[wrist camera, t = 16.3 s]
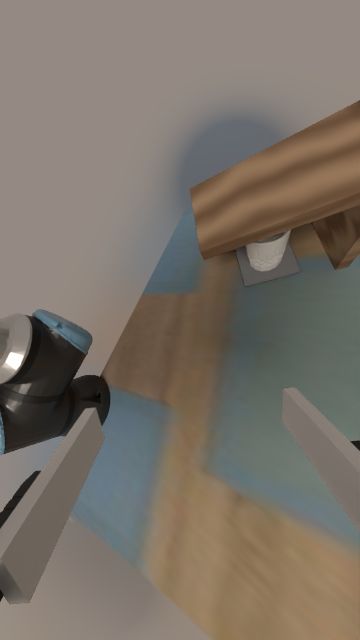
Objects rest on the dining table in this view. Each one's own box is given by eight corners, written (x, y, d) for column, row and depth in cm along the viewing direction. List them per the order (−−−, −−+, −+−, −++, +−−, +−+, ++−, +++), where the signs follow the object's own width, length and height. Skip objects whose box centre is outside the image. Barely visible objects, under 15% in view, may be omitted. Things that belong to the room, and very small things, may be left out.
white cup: (261, 239, 41) (262, 201, 32) (293, 252, 37) (304, 213, 28) (239, 264, 41) (234, 234, 32) (268, 280, 37) (271, 251, 28)
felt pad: (299, 272, 36) (300, 271, 35) (245, 287, 39) (244, 286, 39) (284, 232, 39) (284, 230, 39) (235, 249, 43) (235, 248, 43)
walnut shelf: (348, 266, 33) (431, 165, 17) (222, 299, 41) (200, 251, 25) (319, 212, 38) (364, 95, 22) (212, 251, 46) (189, 187, 30)
